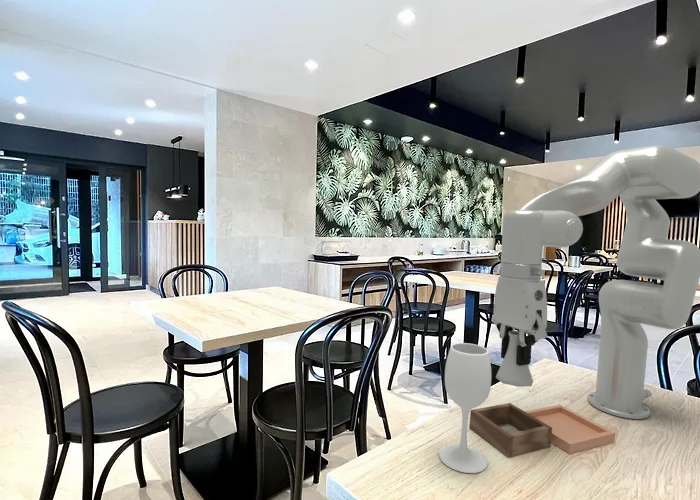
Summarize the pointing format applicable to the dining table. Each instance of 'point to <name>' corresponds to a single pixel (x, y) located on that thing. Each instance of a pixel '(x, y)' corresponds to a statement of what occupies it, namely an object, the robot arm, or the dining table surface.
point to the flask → (514, 365)
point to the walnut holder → (513, 444)
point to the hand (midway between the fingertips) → (515, 360)
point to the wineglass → (466, 400)
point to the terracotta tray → (572, 429)
